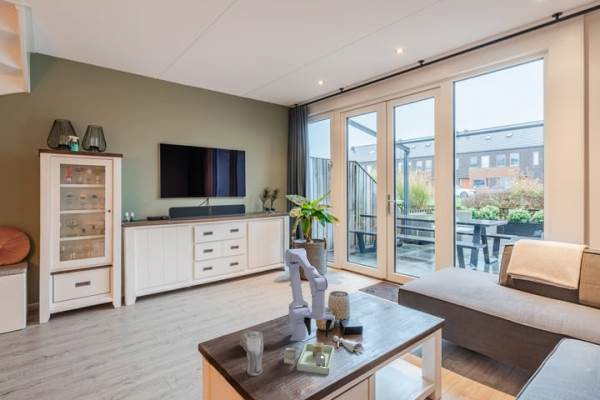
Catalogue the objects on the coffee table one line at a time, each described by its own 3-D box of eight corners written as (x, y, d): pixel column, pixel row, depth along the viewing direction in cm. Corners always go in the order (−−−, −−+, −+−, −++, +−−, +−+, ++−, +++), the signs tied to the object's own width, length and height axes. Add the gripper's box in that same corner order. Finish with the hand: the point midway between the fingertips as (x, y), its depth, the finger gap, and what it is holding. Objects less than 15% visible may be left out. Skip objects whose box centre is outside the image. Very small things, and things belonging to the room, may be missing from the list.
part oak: (312, 357, 135) (312, 346, 135) (314, 352, 139) (314, 341, 139) (321, 358, 134) (321, 347, 134) (323, 354, 138) (323, 342, 138)
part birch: (286, 359, 135) (286, 347, 135) (295, 360, 134) (295, 349, 134) (284, 364, 131) (284, 352, 131) (293, 365, 130) (293, 353, 130)
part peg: (316, 364, 130) (316, 353, 129) (325, 366, 129) (325, 354, 129) (314, 370, 126) (314, 358, 126) (324, 371, 125) (324, 359, 125)
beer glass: (255, 364, 131) (255, 329, 130) (267, 370, 126) (267, 334, 126) (242, 372, 125) (242, 335, 125) (254, 378, 121) (254, 340, 120)
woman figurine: (352, 349, 135) (325, 336, 150) (353, 359, 135) (325, 345, 150) (370, 341, 142) (342, 330, 157) (370, 351, 142) (342, 338, 157)
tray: (306, 349, 143) (306, 342, 143) (334, 352, 140) (334, 346, 140) (296, 371, 126) (296, 364, 126) (328, 376, 123) (328, 368, 123)
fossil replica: (256, 340, 152) (236, 347, 147) (254, 323, 152) (234, 329, 147) (265, 350, 141) (244, 357, 137) (263, 331, 141) (242, 338, 137)
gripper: (300, 306, 135) (299, 337, 135) (333, 309, 131) (333, 341, 132) (303, 300, 142) (303, 330, 142) (335, 303, 138) (335, 334, 138)
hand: (318, 335), depth 137 cm, fingers open, 7 cm apart
